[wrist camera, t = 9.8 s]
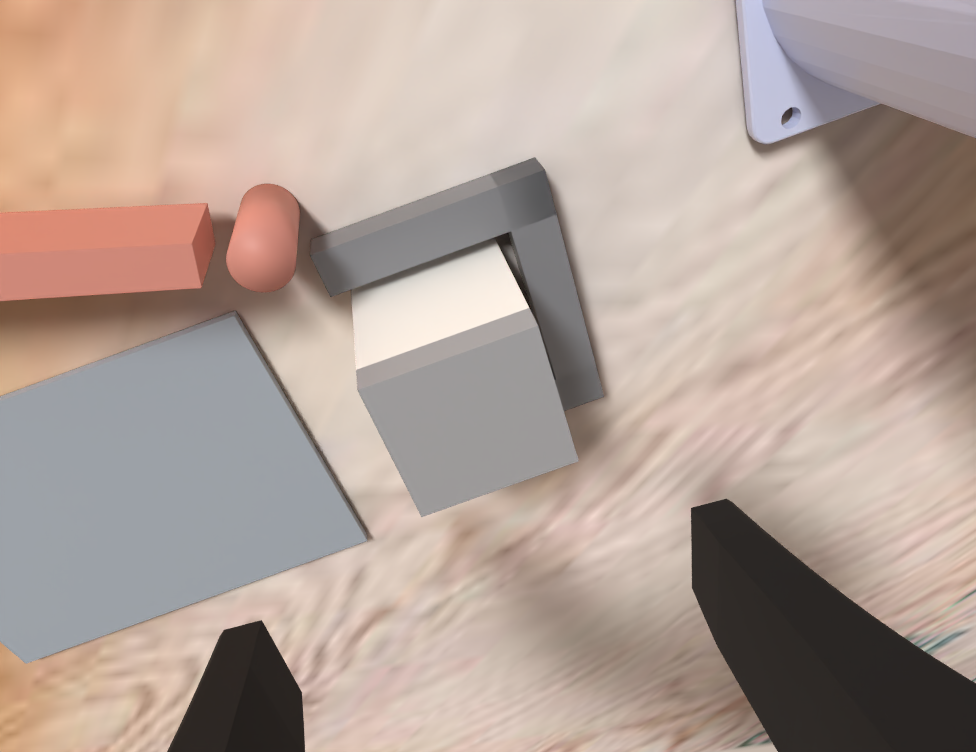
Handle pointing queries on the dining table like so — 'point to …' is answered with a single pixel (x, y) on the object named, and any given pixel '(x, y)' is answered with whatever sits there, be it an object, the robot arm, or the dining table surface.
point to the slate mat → (154, 488)
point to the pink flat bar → (145, 247)
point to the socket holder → (465, 222)
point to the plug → (458, 378)
